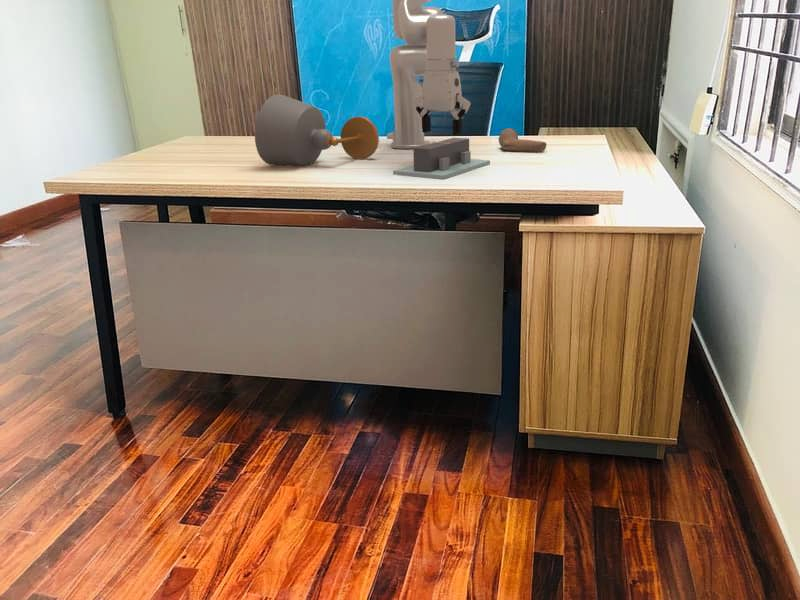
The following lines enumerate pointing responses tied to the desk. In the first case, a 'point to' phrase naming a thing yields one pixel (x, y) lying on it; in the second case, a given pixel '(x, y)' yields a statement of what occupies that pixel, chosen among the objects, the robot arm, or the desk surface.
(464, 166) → the base
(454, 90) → the robot arm
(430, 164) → the dark gray block
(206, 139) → the desk surface
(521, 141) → the pipe
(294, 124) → the light fixture
